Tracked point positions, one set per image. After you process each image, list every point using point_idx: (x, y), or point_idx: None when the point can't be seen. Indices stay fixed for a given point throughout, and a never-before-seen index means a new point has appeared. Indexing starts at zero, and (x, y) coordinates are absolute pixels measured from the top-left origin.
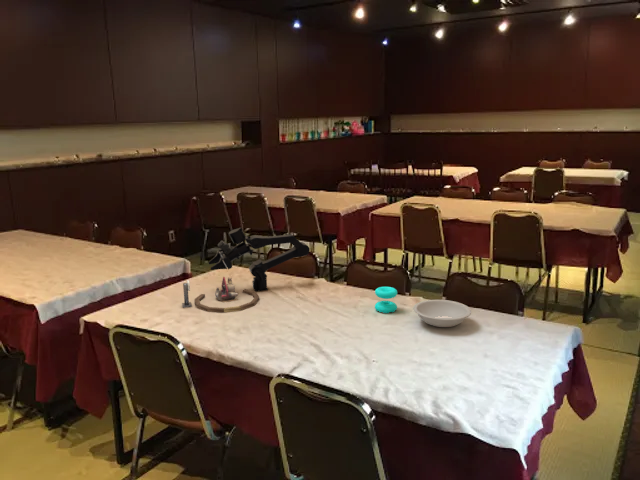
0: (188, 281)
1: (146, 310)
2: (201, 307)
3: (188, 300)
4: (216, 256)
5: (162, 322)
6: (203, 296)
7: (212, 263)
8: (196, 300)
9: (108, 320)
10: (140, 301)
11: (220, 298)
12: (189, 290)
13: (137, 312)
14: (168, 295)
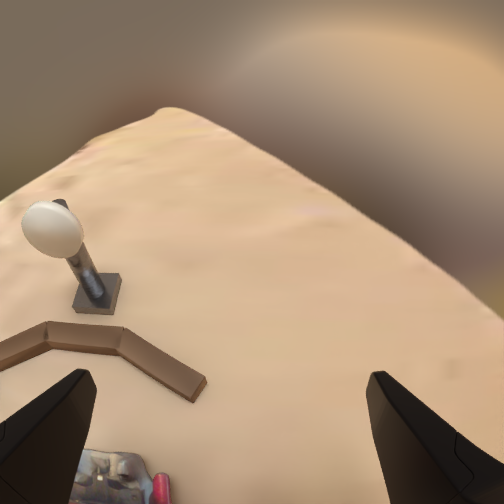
0: (28, 209)
1: (142, 181)
2: (16, 338)
3: (81, 285)
4: (454, 496)
5: (16, 219)
6: (170, 387)
7: (373, 436)
8: (99, 332)
9: (125, 130)
10: (248, 168)
11: None
12: (48, 253)
13: (140, 165)
14: (293, 239)
